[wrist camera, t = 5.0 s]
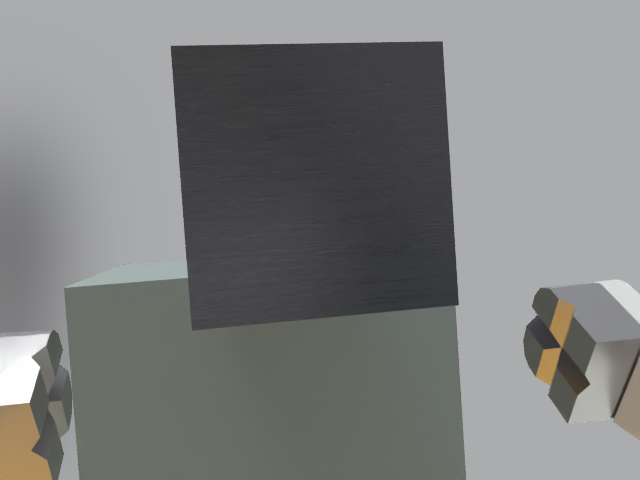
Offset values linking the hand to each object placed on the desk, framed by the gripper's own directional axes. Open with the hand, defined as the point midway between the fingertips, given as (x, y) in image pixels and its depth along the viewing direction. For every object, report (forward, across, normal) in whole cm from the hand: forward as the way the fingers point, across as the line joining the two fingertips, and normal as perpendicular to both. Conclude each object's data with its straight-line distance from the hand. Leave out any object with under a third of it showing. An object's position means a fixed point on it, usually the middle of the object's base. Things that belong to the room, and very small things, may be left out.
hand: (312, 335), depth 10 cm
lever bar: (+9, 0, +5) cm, 11 cm away
